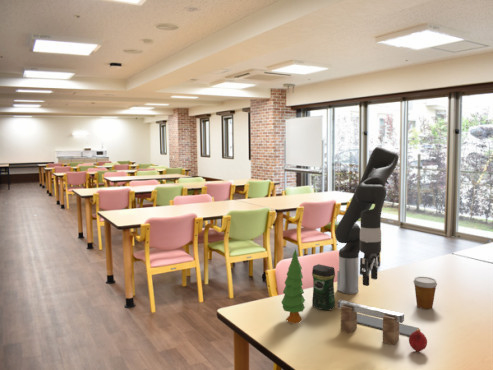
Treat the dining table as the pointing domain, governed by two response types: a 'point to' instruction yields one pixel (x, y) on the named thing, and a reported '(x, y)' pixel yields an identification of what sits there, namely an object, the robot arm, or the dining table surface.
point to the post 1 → (348, 319)
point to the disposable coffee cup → (425, 291)
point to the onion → (418, 340)
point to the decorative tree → (293, 291)
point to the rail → (371, 310)
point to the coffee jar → (323, 287)
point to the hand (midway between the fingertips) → (370, 282)
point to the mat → (379, 324)
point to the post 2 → (390, 330)
